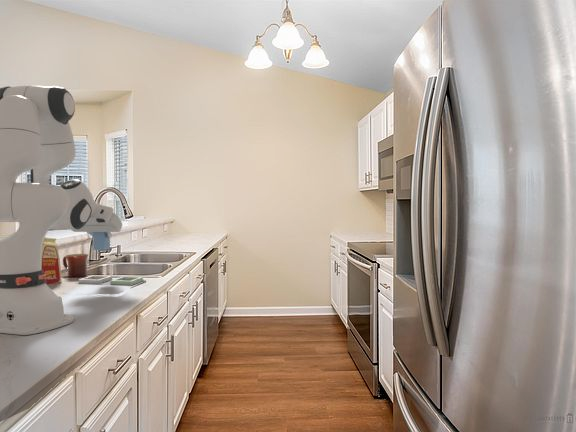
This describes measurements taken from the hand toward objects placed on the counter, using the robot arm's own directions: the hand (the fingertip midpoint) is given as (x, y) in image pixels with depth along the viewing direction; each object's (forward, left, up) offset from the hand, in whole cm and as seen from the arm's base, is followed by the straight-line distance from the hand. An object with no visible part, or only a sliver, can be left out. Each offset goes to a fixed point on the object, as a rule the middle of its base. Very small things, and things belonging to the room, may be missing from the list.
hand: (102, 236), depth 162 cm
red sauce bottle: (+19, +11, -20) cm, 30 cm away
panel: (-5, 0, -19) cm, 20 cm away
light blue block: (0, 0, -5) cm, 5 cm away
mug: (+21, -3, -20) cm, 29 cm away
